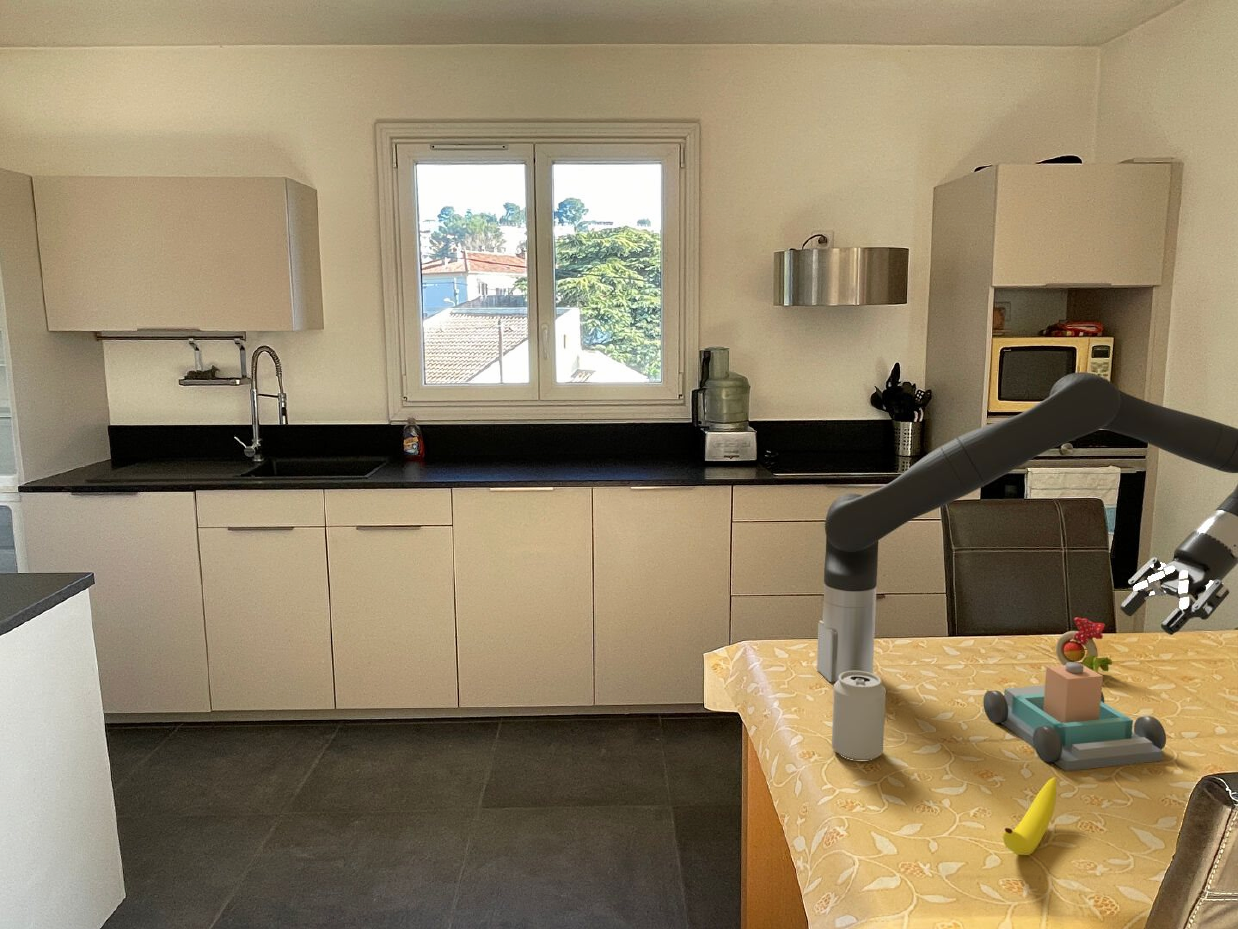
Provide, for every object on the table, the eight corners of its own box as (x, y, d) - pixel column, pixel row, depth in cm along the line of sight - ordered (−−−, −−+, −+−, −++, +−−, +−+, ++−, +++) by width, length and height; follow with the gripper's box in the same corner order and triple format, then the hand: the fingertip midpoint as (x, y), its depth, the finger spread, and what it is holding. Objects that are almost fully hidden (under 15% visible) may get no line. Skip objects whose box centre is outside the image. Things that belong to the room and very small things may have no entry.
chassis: (1057, 772, 129) (1060, 739, 128) (979, 712, 149) (980, 683, 148) (1169, 760, 132) (1172, 728, 132) (1078, 703, 152) (1080, 675, 151)
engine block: (1063, 734, 137) (1068, 673, 136) (1042, 720, 142) (1046, 660, 140) (1098, 731, 138) (1103, 669, 137) (1076, 717, 143) (1080, 657, 142)
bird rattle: (1060, 686, 164) (1111, 680, 157) (1039, 627, 165) (1089, 618, 159) (1072, 676, 168) (1122, 670, 162) (1051, 619, 170) (1100, 610, 163)
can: (884, 745, 138) (887, 671, 136) (881, 768, 131) (884, 690, 129) (834, 738, 140) (836, 665, 138) (829, 760, 133) (831, 683, 131)
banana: (1063, 815, 118) (1067, 770, 117) (1017, 884, 104) (1021, 834, 103) (1040, 807, 120) (1044, 763, 119) (991, 874, 106) (995, 825, 105)
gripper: (1167, 520, 146) (1098, 592, 146) (1241, 541, 132) (1166, 621, 132) (1192, 550, 147) (1125, 621, 147) (1268, 574, 134) (1194, 653, 134)
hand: (1144, 621), depth 140 cm, fingers open, 8 cm apart
